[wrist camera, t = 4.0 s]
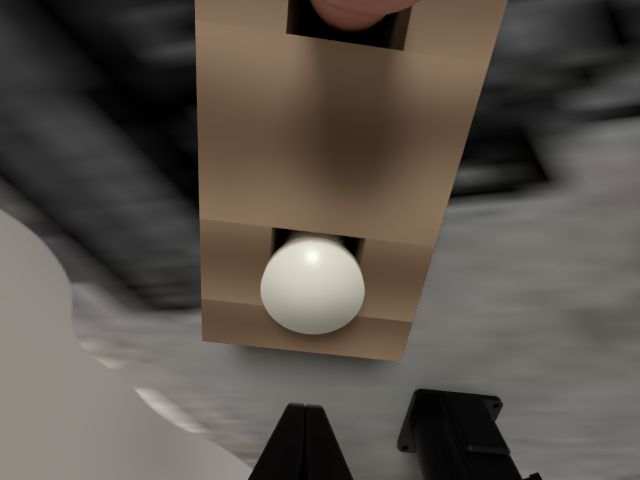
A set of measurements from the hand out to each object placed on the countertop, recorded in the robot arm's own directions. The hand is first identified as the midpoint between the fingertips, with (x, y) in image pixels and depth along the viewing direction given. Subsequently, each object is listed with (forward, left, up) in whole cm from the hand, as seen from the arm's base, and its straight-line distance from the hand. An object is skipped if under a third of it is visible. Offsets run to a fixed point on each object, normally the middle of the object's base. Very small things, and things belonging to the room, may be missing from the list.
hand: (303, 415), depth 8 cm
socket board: (+5, 0, -12) cm, 13 cm away
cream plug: (0, 0, -12) cm, 12 cm away
